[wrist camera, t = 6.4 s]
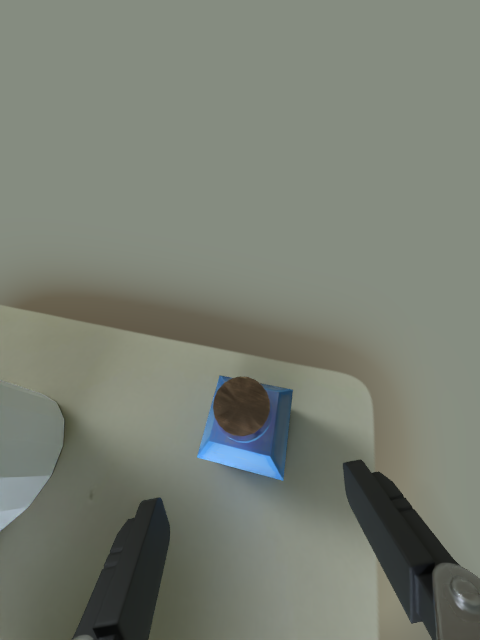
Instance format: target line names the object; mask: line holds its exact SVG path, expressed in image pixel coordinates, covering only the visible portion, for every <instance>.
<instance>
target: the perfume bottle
mask: <svg viewBox="0 0 480 640" xmlns="http://www.w3.org/2000/svg"><path fill="white" fill-rule="evenodd" d="M292 392H293V390H291V389H286V388H281V387H276V386H271V385H266V384H261V383H259V382H257V381H256V380H254V379H251V378H249V377H236V378H230V377H225V376H219V380H218V383H217V387H216V391H215V394H214V398H213V401H212V405H211V409H210V412H209V416H208V419H207V423H206V427H205V430H204V434H203V437H202V441H201V445H200V448H199V452H198V455H197V457H198V458H201V459H205V460H209V461H213V462H216V463H220V464H224V465H227V466H231V467H235V468H238V469H242V470H246V471H249V472H253V473H257V474H260V475H264V476H268V477H271V478H275V479H279V480H282V481H283V478H284V469H285V459H286V450H287V440H288V430H289V421H290V411H291V402H292Z"/></svg>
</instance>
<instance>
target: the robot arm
mask: <svg viewBox="0 0 480 640" xmlns="http://www.w3.org/2000/svg"><path fill="white" fill-rule="evenodd" d="M343 470H344V481H345V491H346V495H347V499H348V502H349V504H350V506H351V509H352V511H353V512H354V514H355V516H356V518H357V520H358V522H359V524H360V526H361V528H362V530H363V532H364V534H365V535H366V537H367V539H368V541H369V543H370V545H371V547H372V549H373V551H374V553H375V555H376V557H377V558H378V560H379V562H380V564H381V566H382V568H383V569H384V572H385V574H386V575H387V577H388V579H389V581H390V583H391V585H392V587H393V589H394V591H395V593H396V595H397V597H398V598H399V601H400V602H401V604H402V606H403V608H404V610H405V612H406V614H407V616H408V618H409V620H410V622H411V623H417V622H423V623H424V625H425V627H426V628H427V630H428V632H429V634H430V636H431V638H432V640H480V579H479V578H478V577H477V576H476V575H474V574H473V573H471V572H470V571H468V570H467V569H465V568H463V567H461V566H460V565H459V564H458V563H457V562H456V561H455V560H454V559H453V558H452V557H451V556H450V554H449V553H448V552H447V550H446V549H445V548H444V547H443V545H442V544H441V543H440V541H439V540H438V539H437V538H436V536H435V535H434V534H433V533H432V531H431V530H430V529H429V527H428V526H427V525H426V524H425V523H424V521H423V520H422V519H421V517H420V516H419V515H418V513H417V512H416V511H415V510H414V509H413V508H412V506H411V505H410V503H409V502H408V501H407V500H406V498H404V497H403V494H402V493H401V492H400V491H399V489H398V488H397V487H396V486H395V484H394V483H393V482H392V481H390V480H389V479H388V478H387V477H386V476H384V475H383V474H382V473H380V472H374V473H371V472H370V470H369V469H368V467H367V466H366V465H365V463H364V462H363V461H362V460H355V461H350V462H345V463H343ZM169 541H170V525H169V521H168V518H167V515H166V511H165V508H164V505H163V501H162V499H161V498H160V497H159V498H154V499H149V500H143V501H142V502H141V503H140V505H139V507H138V510H137V512H136V515H135V518H131V519H128V520H127V521H126V523H125V524H124V526H123V527H122V528H121V530H120V531H119V532H118V534H117V536H116V538H115V541H114V543H113V545H112V548H111V550H110V554H109V555H108V557H107V559H106V562H105V564H104V569H102V571H101V574H100V576H99V578H98V581H97V583H96V585H95V588H94V590H93V592H92V595H91V597H90V599H89V602H88V604H87V607H86V609H85V611H84V614H83V616H82V618H81V621H80V623H79V625H78V628H77V630H76V632H75V634H74V636H73V638H72V640H148V638H149V633H150V629H151V624H152V620H153V615H154V610H155V606H156V601H157V597H158V592H159V588H160V583H161V578H162V574H163V569H164V565H165V560H166V555H167V551H168V546H169Z"/></svg>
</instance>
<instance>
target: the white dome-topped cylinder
mask: <svg viewBox="0 0 480 640" xmlns="http://www.w3.org/2000/svg"><path fill="white" fill-rule="evenodd" d="M63 439H64V418H63V415H62V413H61V411H60V409H59V406H58V404H57V402H55V401H54V400H52V399H50V398H49V397H47V396H45V395H44V394H42V393H40V392H36V391H33V390H30V389H27V388H24V387H21V386H18V385H15V384H12V383H9V382H6V381H3V380H0V531H1V530H2V529H4V528H5V527H6V526H7V525H8V524H9V523H11V522H12V521H13V520H14V519H15V518H16V517H18V516H19V515H20V514H21V513H22V512H23V511H25V510H26V509H27V508H28V507H29V506H30V505H31V503H32V502H33V500H34V499H35V498H36V496H37V495H38V493H39V492H40V491H41V489H42V488H43V486H44V485H45V484H46V482H47V481H48V479H49V478H50V477H51V475H52V472H53V470H54V467H55V465H56V462H57V460H58V457H59V455H60V452H61V449H62V447H63Z"/></svg>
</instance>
